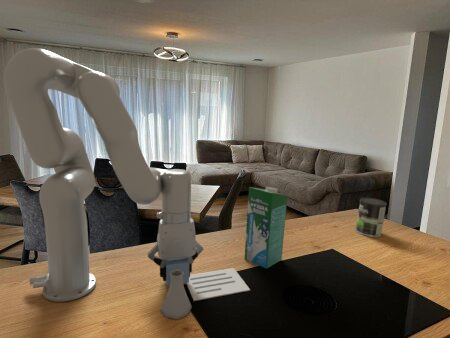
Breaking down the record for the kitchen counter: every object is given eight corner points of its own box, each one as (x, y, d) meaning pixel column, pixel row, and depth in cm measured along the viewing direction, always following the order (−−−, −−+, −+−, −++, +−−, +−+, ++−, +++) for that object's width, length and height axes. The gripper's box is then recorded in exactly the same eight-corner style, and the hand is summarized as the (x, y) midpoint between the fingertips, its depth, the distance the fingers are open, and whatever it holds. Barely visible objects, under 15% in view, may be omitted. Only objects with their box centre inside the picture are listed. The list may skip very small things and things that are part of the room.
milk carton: (281, 259, 101) (288, 188, 96) (266, 269, 94) (272, 192, 89) (260, 250, 107) (265, 182, 102) (244, 258, 100) (248, 186, 95)
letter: (193, 301, 77) (193, 299, 77) (183, 276, 88) (183, 275, 88) (250, 290, 82) (250, 289, 82) (233, 268, 93) (233, 267, 93)
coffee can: (364, 237, 123) (368, 204, 120) (351, 227, 133) (355, 197, 130) (387, 237, 124) (392, 205, 122) (372, 227, 134) (377, 197, 132)
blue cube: (167, 286, 80) (167, 265, 79) (163, 274, 85) (163, 255, 84) (188, 282, 82) (189, 262, 81) (183, 271, 87) (184, 252, 86)
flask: (196, 307, 74) (198, 271, 72) (177, 324, 68) (178, 284, 66) (174, 297, 78) (175, 262, 76) (154, 312, 72) (154, 274, 70)
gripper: (144, 223, 74) (145, 289, 77) (211, 217, 80) (209, 278, 83) (141, 213, 80) (142, 274, 84) (203, 208, 87) (201, 265, 90)
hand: (175, 276), depth 84 cm, fingers closed on blue cube, 6 cm apart
